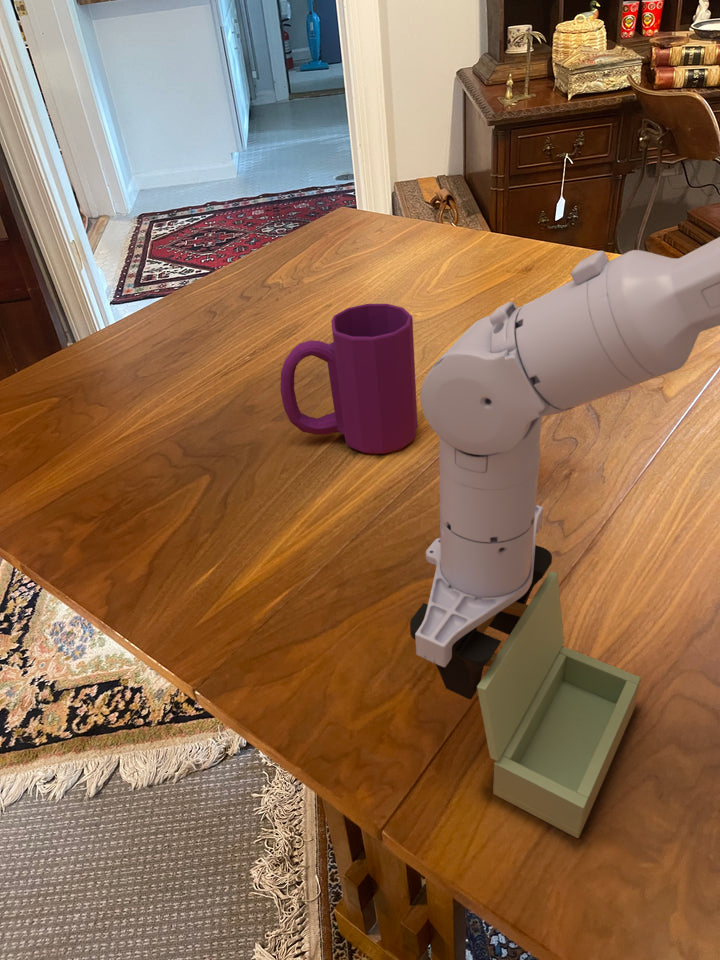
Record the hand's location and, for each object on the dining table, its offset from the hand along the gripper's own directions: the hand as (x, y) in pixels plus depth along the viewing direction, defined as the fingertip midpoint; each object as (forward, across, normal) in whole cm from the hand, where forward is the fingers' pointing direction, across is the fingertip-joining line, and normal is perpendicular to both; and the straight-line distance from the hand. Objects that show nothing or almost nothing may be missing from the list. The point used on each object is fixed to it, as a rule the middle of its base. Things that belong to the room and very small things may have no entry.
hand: (481, 657), depth 53 cm
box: (+6, 0, +7) cm, 9 cm away
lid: (-2, 0, +4) cm, 4 cm away
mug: (+7, -27, -30) cm, 41 cm away
